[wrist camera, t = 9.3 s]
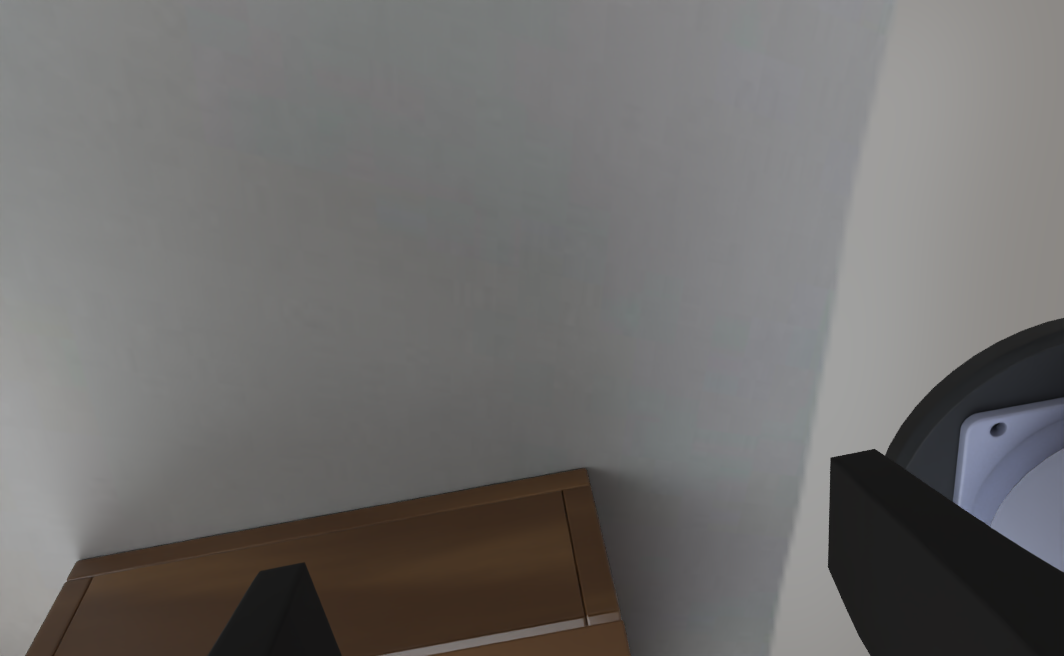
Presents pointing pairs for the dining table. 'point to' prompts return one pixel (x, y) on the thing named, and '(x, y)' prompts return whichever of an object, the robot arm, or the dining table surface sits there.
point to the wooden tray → (362, 576)
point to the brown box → (559, 643)
